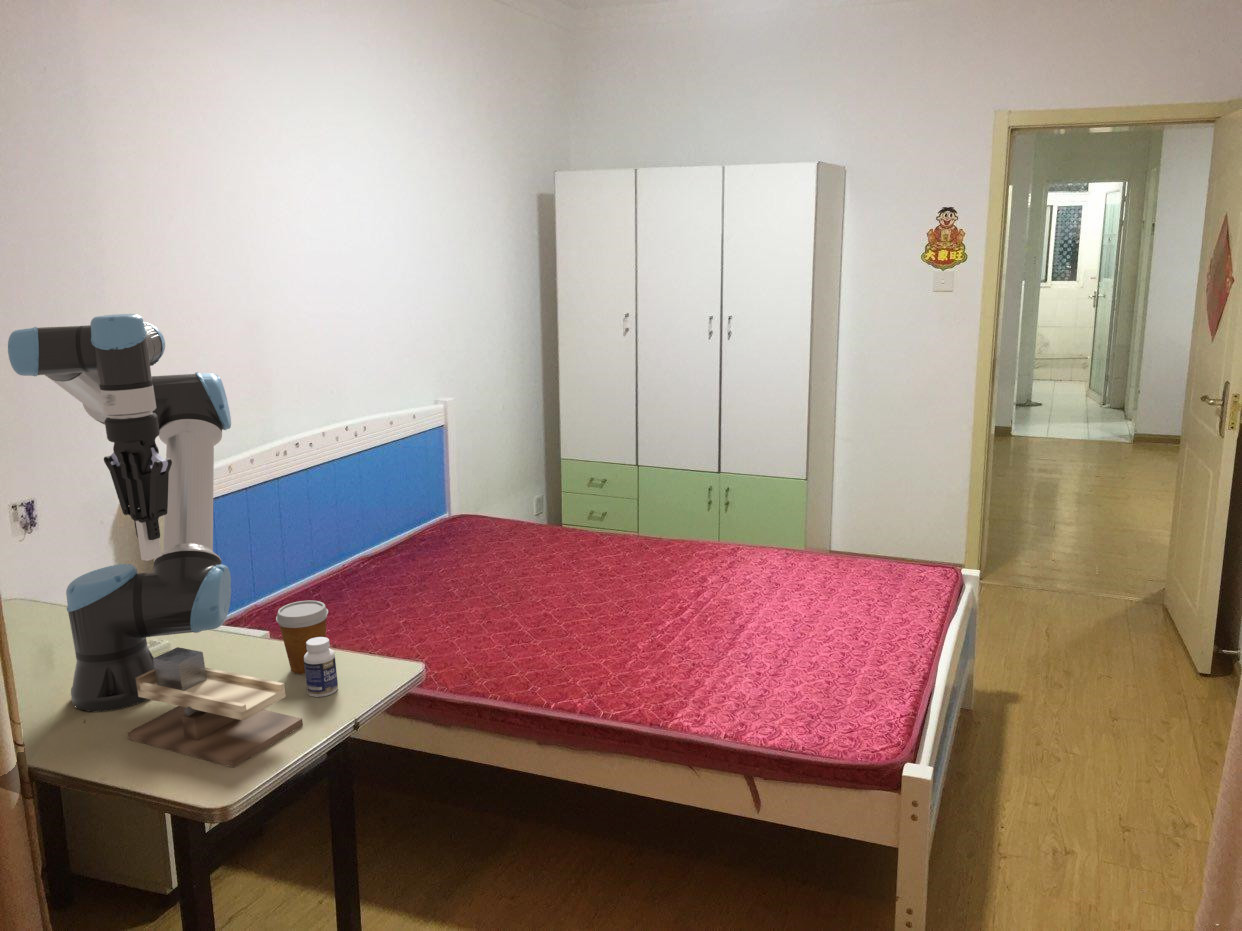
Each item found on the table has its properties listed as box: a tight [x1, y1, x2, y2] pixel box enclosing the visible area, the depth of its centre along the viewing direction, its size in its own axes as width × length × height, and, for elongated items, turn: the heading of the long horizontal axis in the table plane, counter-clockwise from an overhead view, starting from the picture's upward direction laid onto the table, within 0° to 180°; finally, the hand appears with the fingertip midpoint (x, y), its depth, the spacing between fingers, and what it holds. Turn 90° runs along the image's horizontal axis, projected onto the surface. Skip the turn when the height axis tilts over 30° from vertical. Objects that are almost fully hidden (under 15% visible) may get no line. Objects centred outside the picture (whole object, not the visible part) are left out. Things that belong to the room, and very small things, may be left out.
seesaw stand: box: [127, 706, 304, 768], centre depth 169 cm, size 24×15×5 cm, turn 64°
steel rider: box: [153, 646, 207, 691], centre depth 170 cm, size 6×5×5 cm
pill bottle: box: [304, 636, 339, 698], centre depth 182 cm, size 5×5×10 cm
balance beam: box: [136, 667, 287, 721], centre depth 167 cm, size 24×10×4 cm, turn 64°
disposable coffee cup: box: [275, 600, 329, 675], centre depth 192 cm, size 10×10×12 cm
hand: (151, 557), depth 164 cm, fingers closed
